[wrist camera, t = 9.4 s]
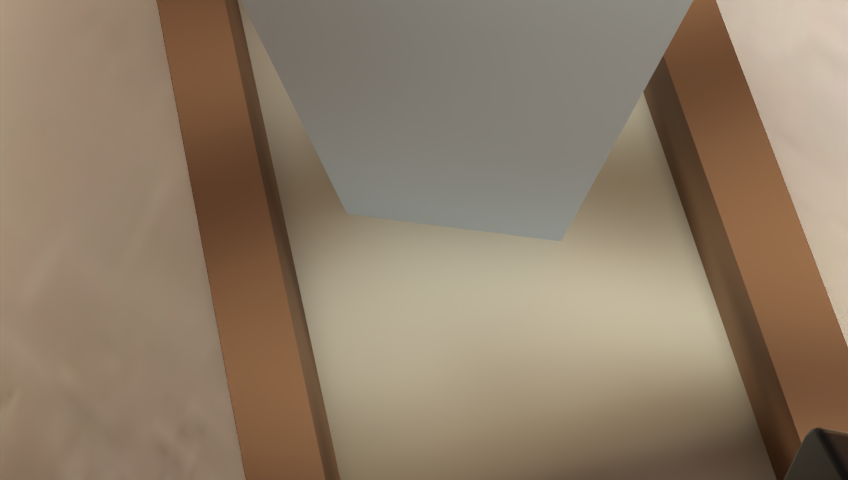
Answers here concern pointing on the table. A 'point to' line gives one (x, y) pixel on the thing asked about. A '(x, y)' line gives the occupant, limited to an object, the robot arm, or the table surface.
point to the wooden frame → (510, 293)
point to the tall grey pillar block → (465, 100)
